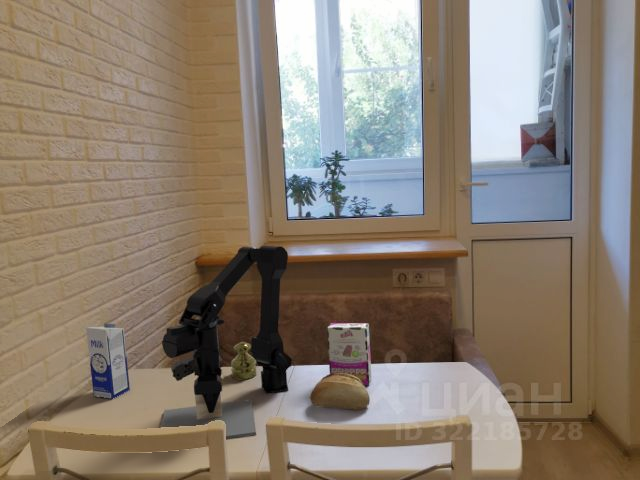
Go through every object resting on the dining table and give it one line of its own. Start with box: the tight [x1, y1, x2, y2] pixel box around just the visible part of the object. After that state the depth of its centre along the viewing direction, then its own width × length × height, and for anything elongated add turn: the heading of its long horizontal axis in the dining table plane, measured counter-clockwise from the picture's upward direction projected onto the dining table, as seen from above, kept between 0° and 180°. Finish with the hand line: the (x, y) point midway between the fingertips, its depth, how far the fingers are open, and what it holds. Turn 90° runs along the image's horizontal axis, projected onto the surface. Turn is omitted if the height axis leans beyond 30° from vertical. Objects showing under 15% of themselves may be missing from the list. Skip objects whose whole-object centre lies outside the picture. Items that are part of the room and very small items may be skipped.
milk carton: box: [85, 322, 131, 400], centre depth 146 cm, size 7×7×20 cm
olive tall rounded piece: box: [230, 341, 258, 380], centre depth 155 cm, size 7×7×10 cm
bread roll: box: [309, 373, 370, 411], centre depth 132 cm, size 10×15×8 cm, turn 82°
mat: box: [160, 399, 257, 440], centre depth 127 cm, size 22×18×1 cm
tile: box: [194, 392, 222, 420], centre depth 128 cm, size 6×2×8 cm, turn 101°
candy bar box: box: [326, 322, 372, 386], centre depth 146 cm, size 11×5×16 cm, turn 77°
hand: (211, 406), depth 129 cm, fingers open, 6 cm apart
